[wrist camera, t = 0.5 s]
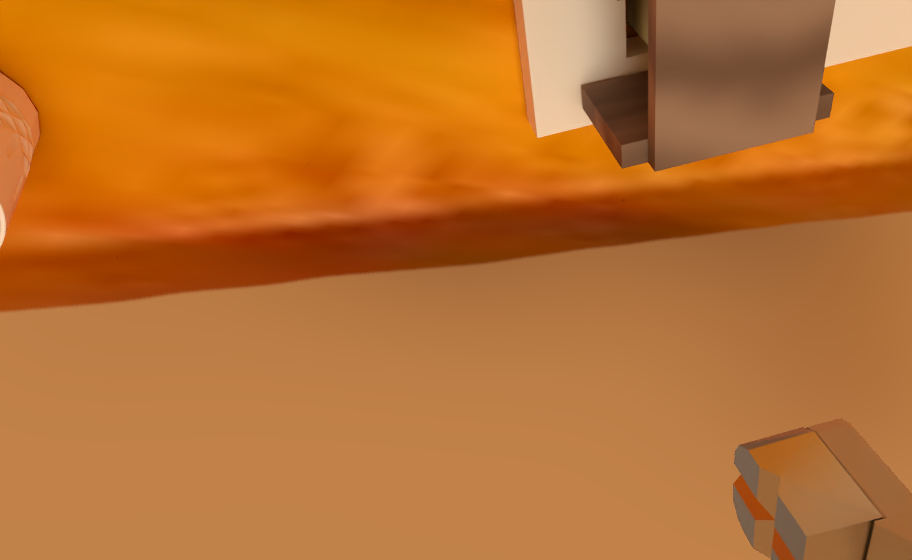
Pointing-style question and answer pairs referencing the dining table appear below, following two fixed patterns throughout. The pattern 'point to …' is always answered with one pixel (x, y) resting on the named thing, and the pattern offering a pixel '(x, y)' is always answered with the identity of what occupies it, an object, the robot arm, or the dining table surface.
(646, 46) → the puzzle board
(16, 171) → the white cup
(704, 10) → the cover
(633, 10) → the block
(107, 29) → the dining table surface
